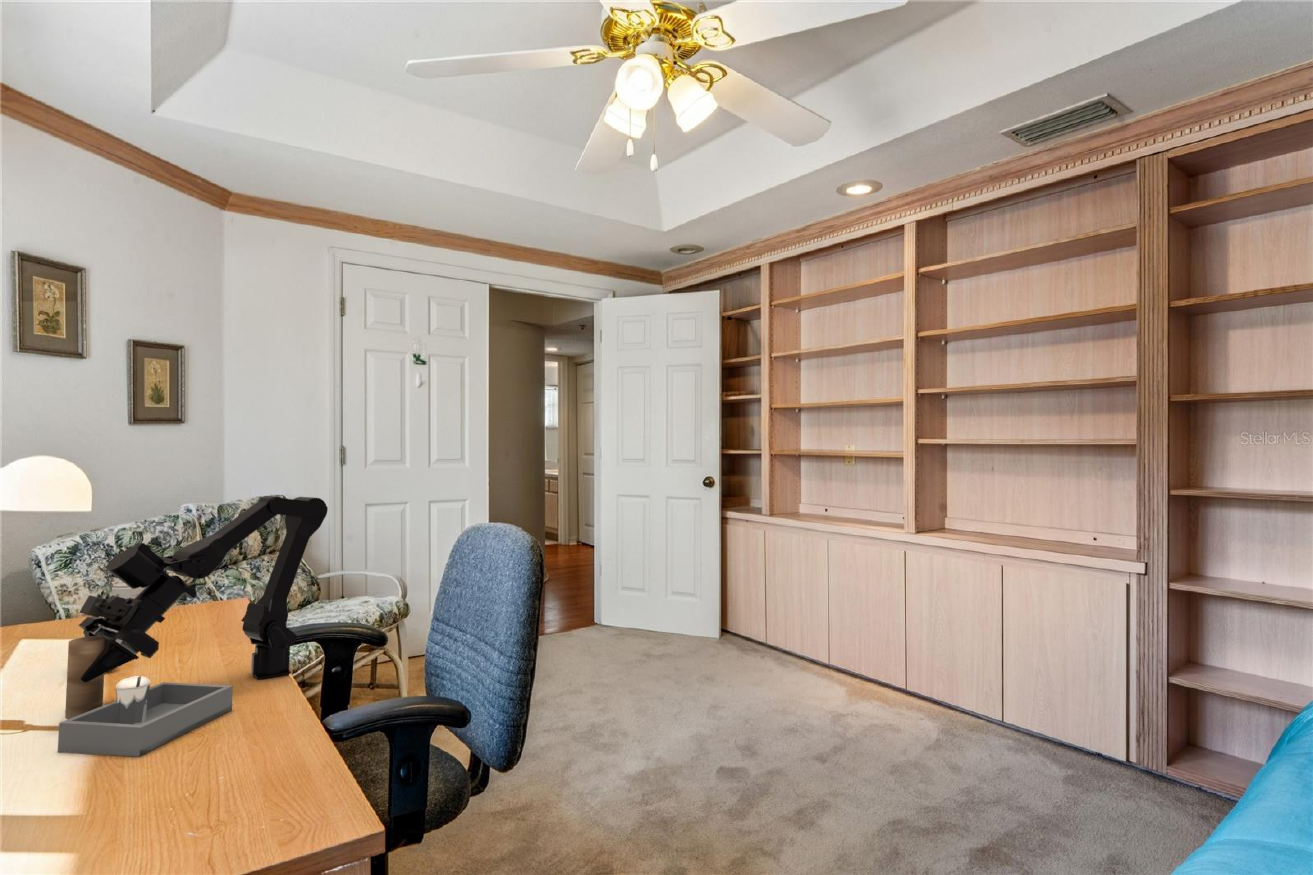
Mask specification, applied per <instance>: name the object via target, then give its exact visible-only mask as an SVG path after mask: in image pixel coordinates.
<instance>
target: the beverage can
mask: <svg viewBox="0 0 1313 875" xmlns="http://www.w3.org/2000/svg"><path fill="white" fill-rule="evenodd" d="M145 588H146V587H145ZM145 588H141V587H139V588H136V589H132V588H131V587H129V586H128V585H127V584H125V583H124V582H123V581H122V582H118V583H114V584H112V588H111V596H113V595H114V596H117V597H121V598H125V599H127V598H133V599H134V598H135V597H136V596H137V595H139V593H140V592H142V591H143V590H144V589H145Z"/></svg>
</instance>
